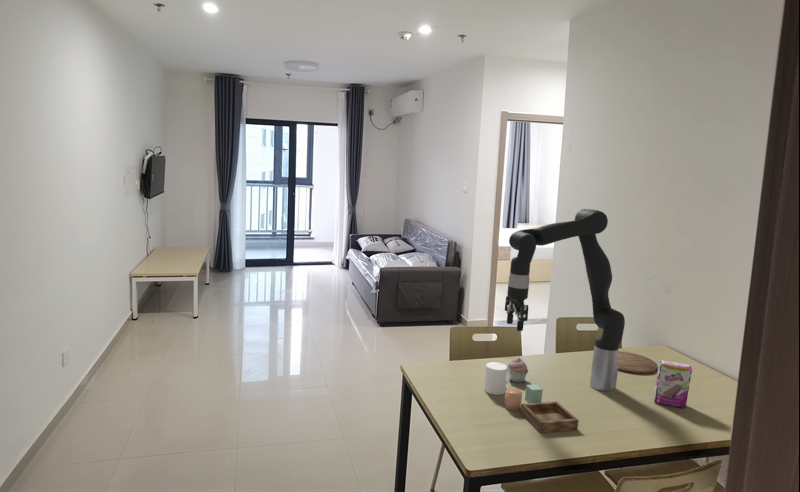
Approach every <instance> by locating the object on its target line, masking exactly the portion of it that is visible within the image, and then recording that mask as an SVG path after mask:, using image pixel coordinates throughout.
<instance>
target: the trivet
mask: <svg viewBox="0 0 800 492" xmlns="http://www.w3.org/2000/svg"><path fill="white" fill-rule="evenodd" d="M616 366H618V372H622V373H627V374H631V373H632V374H633V375H649V374H650V375H651V374H654V373H656V372H658V364H657V363H656V361H654V360H652V359H651V358H649V357H646V356H645V355H642V354H637V353H633V352H629V351H622V350H618V357H617V365H616Z"/></svg>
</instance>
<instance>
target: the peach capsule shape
mask: <svg viewBox="0 0 800 492" xmlns="http://www.w3.org/2000/svg"><path fill="white" fill-rule="evenodd" d="M522 398H523V391H521V390H519V389H517V388H511V387H510V388H506V390H505V393H504V404H503V407H504V409H506V410H508V411H512V412H517V411H521V404H522Z"/></svg>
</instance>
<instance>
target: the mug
mask: <svg viewBox="0 0 800 492" xmlns="http://www.w3.org/2000/svg"><path fill="white" fill-rule="evenodd" d="M507 366H508V365H507V364H504V363H501V362H498V361H497V362H496V361H491V362H488V363H486V364H485V376H484V388H483V390H484V392H486V393H487V394H489V395H493V396H500V395H505V392H506V389H507V384H508V383H509V382H510V378H511V375H510V372H509V371H508V370H507Z"/></svg>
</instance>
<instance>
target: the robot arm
mask: <svg viewBox="0 0 800 492" xmlns="http://www.w3.org/2000/svg"><path fill="white" fill-rule="evenodd" d="M608 223H609V220H608V216H607V215H606V213H605V212H603V211H601V210H598V209H590V208H583V209H580V210H578V211H577V213H575V217H574V220H570V221H561V222H560V221H559V222H554V223H550V224H546V225H545V224H544V225H541V226H538V227H535V228H528V229H527V228H526V229H520V230H516V231H515V232H513V233H512V234H511V235H510V237H509V239H508V244H509V246H510V247H511V248H512V249H514V250H516V251H517V256H515V257H513V258H512V259H511V261H510V269H509V270H510V271H509V277H508V284H507V292H506V295H507V296H505V303H504V311H506V314H507V315H506V323H507V324H508V325H513V322H514V314H515V316H516V320H517V323H516V331H517V332H523V330H524V323H525V322H528V319H529V305H528V304H525V300H527V299H528V297H529V288H530V272H531V271H530V268H531V263H532V260H533V258H534V255H535V253H536V249H537V246H539V247H540V246H541V247H542V246H545V245H549V244H553V243H556V242H560V241H562V240H567V239H570V238H575V237H576V238H577V237H578V239H579V243H580V246H581V250H582V255H583V259H584V264H585V271H586V276H587V280H588V284H589V285H588V286H589V290H590V295H591V301H592V302H591V303H592V316H593V321H594V323H595V325H596V326H597V327H598V328H600V329H602V336H598V337H596V338H595V339H594V347H593V356H592V363H591V369H590V371H591V372H590V377H589V378H590V381H589V386H590V387H591V388H593V389H595V390H598V391H601V392H611V391H613V390H616V388H617V380H618V373H619V371H618V366H616V365H617V357H618V351H619V348H620V345H621V343H622V341H623V334H624V330H625V324H626V319H625V316H624V314H623V313H622V312H620V311H619V310H616V309H614V308H612V307H611V302H610V298H609V291H610V288H611V285H612V281H613V274H612V268H611V267H612V266H611V262H610V259H609V258H608V256H607V255H606V253H605V251H604V249H603V248H602V247H601V245H600V244H599V241H598V239H597V235H599V234H601V233H602V232H604V231H605V230H606V229H607V227H608Z"/></svg>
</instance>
